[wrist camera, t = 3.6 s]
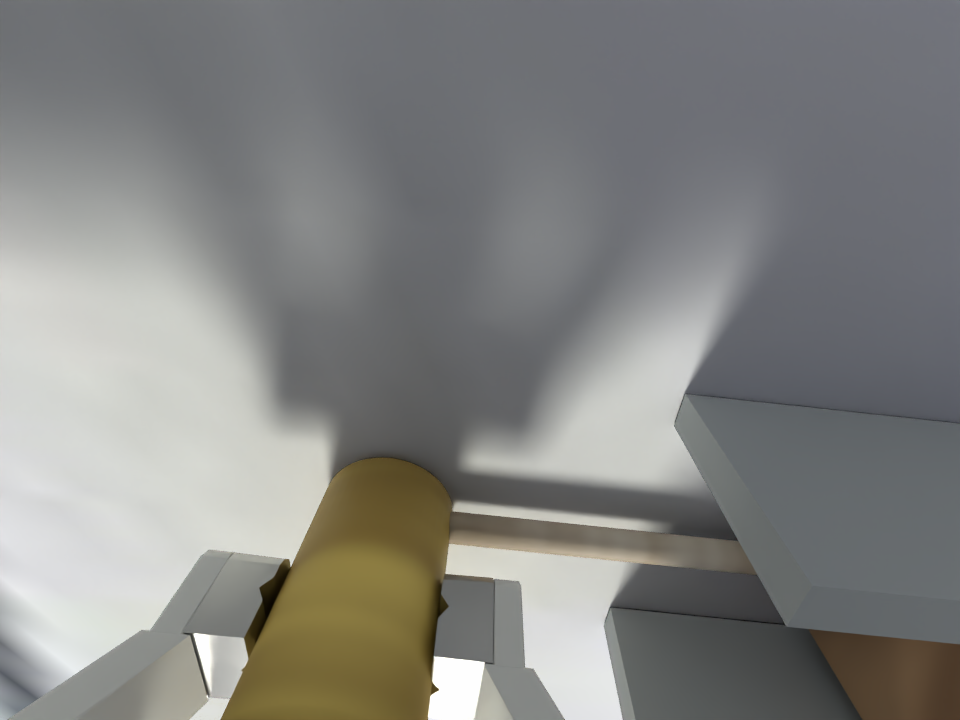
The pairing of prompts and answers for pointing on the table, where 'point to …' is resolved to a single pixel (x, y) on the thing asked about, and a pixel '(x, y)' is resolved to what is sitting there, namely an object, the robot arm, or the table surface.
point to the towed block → (417, 593)
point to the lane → (803, 559)
